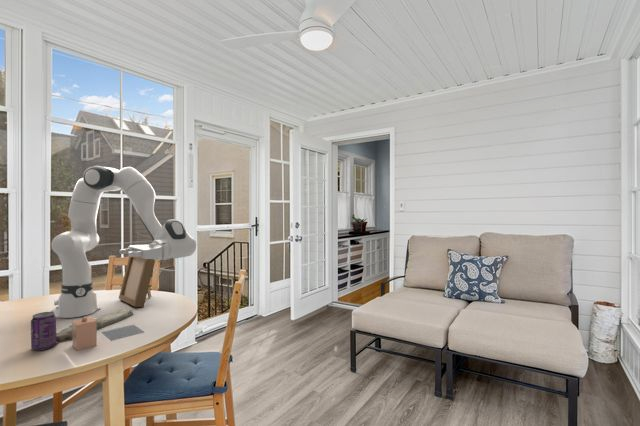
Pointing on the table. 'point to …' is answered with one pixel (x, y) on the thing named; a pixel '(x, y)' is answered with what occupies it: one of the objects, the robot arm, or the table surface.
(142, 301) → the photo frame
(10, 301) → the table surface
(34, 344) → the beverage can
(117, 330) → the mat
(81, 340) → the peach block with knob
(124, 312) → the long grey stone
